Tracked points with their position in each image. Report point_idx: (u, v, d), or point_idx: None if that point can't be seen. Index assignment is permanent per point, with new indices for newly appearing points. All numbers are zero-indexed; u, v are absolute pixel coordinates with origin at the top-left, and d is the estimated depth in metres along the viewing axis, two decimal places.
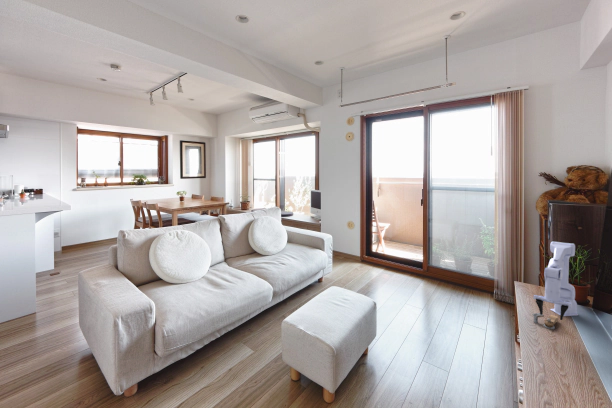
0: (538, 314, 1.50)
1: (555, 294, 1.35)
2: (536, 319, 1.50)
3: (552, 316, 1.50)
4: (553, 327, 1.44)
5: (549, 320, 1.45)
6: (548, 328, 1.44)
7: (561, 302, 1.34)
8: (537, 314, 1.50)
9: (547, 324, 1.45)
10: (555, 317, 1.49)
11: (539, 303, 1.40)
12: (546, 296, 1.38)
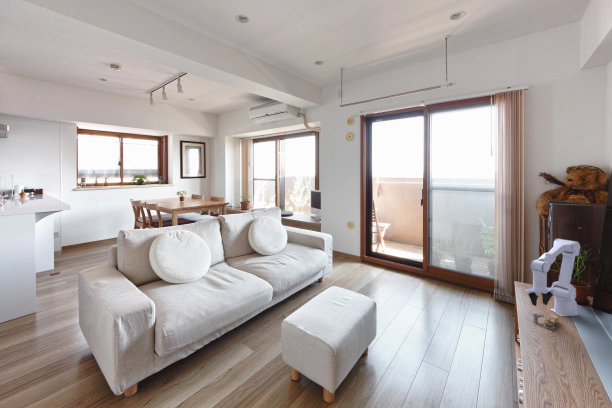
0: (538, 314, 1.50)
1: (546, 284, 1.46)
2: (536, 319, 1.50)
3: (552, 316, 1.50)
4: (553, 327, 1.44)
5: (549, 320, 1.45)
6: (548, 328, 1.44)
7: (549, 290, 1.47)
8: (537, 314, 1.50)
9: (547, 324, 1.45)
10: (555, 317, 1.49)
11: (536, 296, 1.47)
12: (539, 288, 1.47)
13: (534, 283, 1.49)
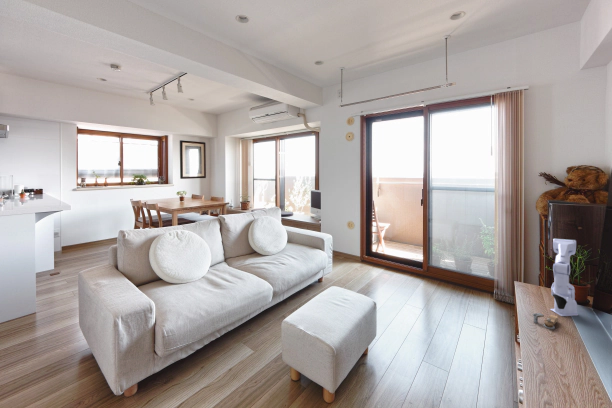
0: (538, 314, 1.50)
1: None
2: (536, 319, 1.50)
3: (552, 316, 1.50)
4: (553, 327, 1.44)
5: (549, 320, 1.45)
6: (548, 328, 1.44)
7: None
8: (537, 314, 1.50)
9: (547, 324, 1.45)
10: (555, 317, 1.49)
11: None
12: (568, 292, 1.42)
13: (564, 288, 1.42)
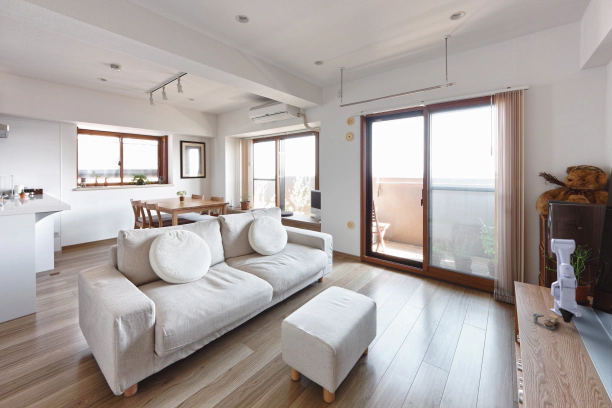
0: (538, 314, 1.50)
1: None
2: (536, 319, 1.50)
3: (552, 316, 1.50)
4: (553, 327, 1.44)
5: (549, 320, 1.45)
6: (548, 328, 1.44)
7: None
8: (537, 314, 1.50)
9: (547, 324, 1.45)
10: (555, 317, 1.49)
11: None
12: (574, 305, 1.42)
13: (571, 302, 1.41)
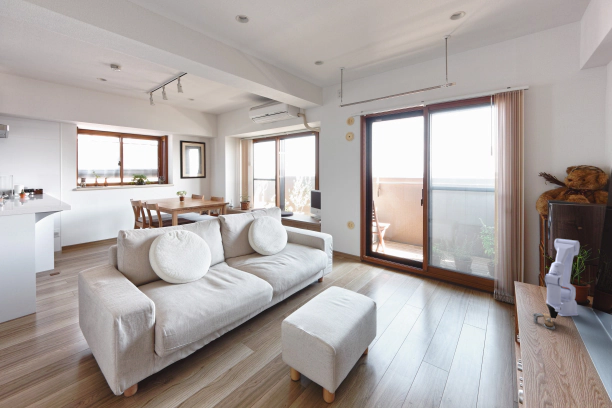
0: (538, 314, 1.50)
1: None
2: (536, 319, 1.50)
3: (545, 315, 1.52)
4: (553, 327, 1.44)
5: (549, 320, 1.45)
6: (548, 328, 1.44)
7: None
8: (537, 314, 1.50)
9: (549, 324, 1.44)
10: (548, 315, 1.51)
11: None
12: (559, 302, 1.47)
13: (555, 298, 1.47)
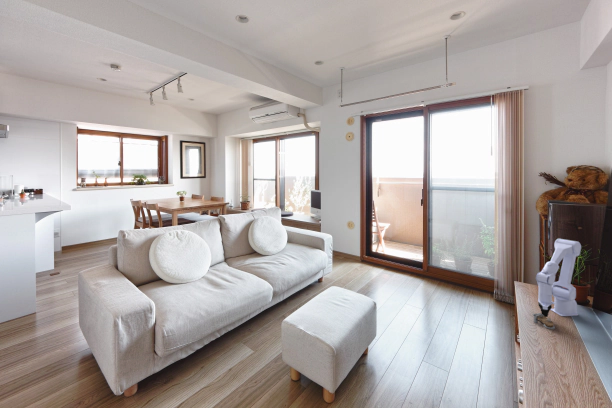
0: (538, 314, 1.50)
1: None
2: (536, 319, 1.50)
3: None
4: (553, 327, 1.44)
5: (550, 320, 1.45)
6: (548, 328, 1.44)
7: None
8: (537, 314, 1.50)
9: (551, 325, 1.44)
10: None
11: None
12: (550, 301, 1.49)
13: (544, 296, 1.49)
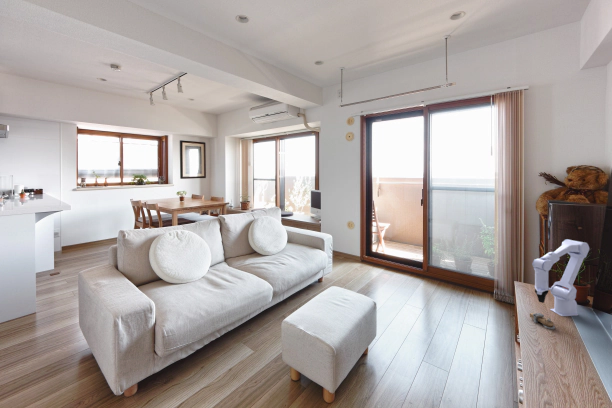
0: (538, 314, 1.50)
1: None
2: (536, 319, 1.50)
3: None
4: (553, 327, 1.44)
5: (550, 320, 1.45)
6: (548, 328, 1.44)
7: None
8: (537, 314, 1.50)
9: (552, 325, 1.44)
10: None
11: (546, 293, 1.51)
12: (545, 286, 1.50)
13: (540, 282, 1.51)
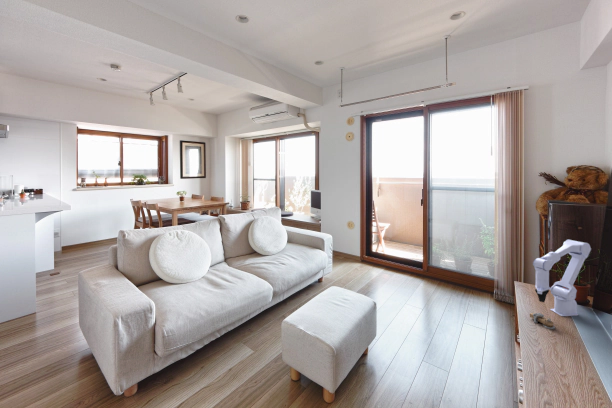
0: (538, 314, 1.50)
1: None
2: (536, 319, 1.50)
3: None
4: (553, 327, 1.44)
5: (550, 320, 1.45)
6: (548, 328, 1.44)
7: None
8: (537, 314, 1.50)
9: (552, 325, 1.44)
10: None
11: None
12: (546, 286, 1.51)
13: (540, 282, 1.52)
